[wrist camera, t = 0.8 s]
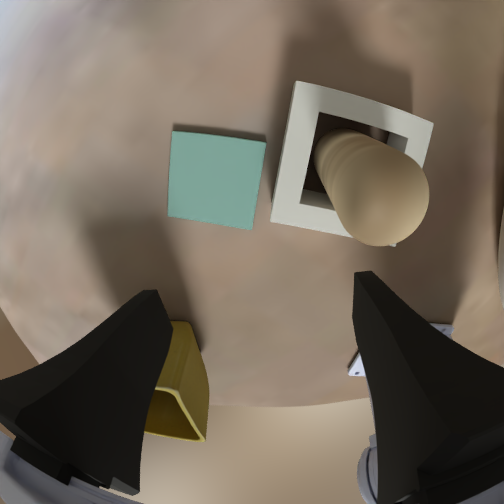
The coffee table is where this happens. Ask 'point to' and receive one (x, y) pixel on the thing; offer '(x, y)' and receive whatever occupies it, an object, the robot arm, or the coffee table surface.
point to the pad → (214, 178)
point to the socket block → (300, 143)
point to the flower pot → (180, 390)
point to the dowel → (371, 186)
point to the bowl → (501, 261)
